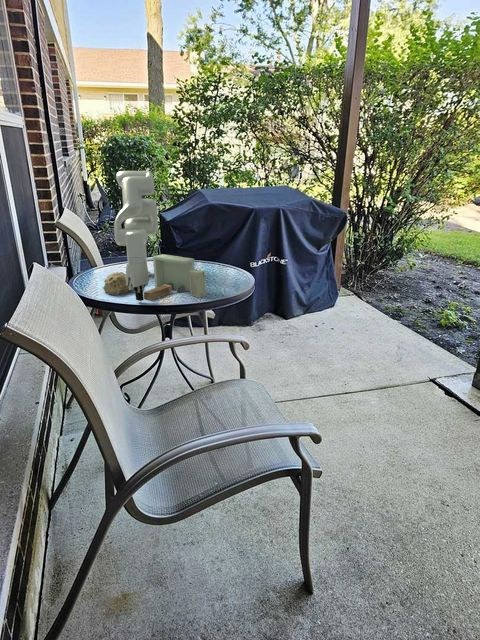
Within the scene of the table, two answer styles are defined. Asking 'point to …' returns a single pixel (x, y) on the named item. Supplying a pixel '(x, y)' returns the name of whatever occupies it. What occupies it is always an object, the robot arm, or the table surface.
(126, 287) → the rock
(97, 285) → the table surface
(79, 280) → the table surface
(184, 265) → the shelter
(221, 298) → the table surface
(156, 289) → the walnut batten
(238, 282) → the table surface
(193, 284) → the skincare box
